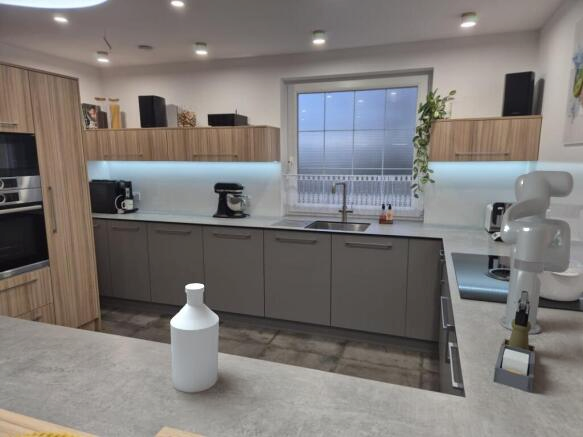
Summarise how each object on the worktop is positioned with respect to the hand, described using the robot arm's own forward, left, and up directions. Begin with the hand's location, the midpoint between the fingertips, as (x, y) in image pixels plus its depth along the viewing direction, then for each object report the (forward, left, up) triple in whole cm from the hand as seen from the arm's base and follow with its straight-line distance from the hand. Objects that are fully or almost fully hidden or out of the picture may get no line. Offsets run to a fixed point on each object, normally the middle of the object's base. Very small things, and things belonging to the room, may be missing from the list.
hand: (521, 320), depth 112 cm
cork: (-1, 0, -11) cm, 11 cm away
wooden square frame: (-1, 0, -11) cm, 11 cm away
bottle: (+69, -68, -11) cm, 97 cm away
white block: (+17, 0, -11) cm, 20 cm away
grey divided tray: (+13, 0, -11) cm, 17 cm away
